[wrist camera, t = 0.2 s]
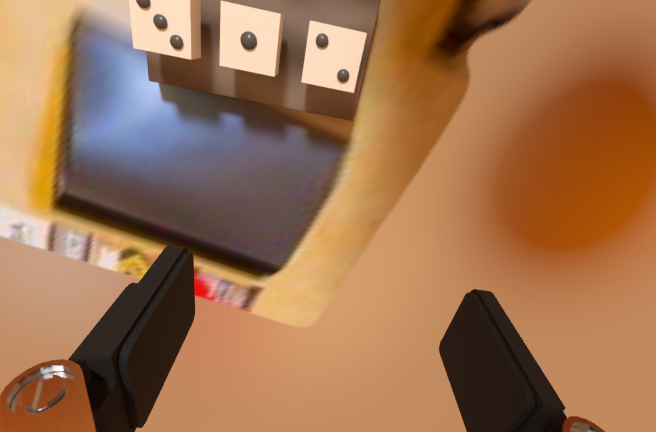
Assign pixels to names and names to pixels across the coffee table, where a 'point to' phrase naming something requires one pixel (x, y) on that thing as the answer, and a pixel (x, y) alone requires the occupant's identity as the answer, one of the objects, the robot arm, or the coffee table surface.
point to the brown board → (286, 87)
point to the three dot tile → (167, 27)
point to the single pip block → (250, 38)
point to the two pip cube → (333, 56)
